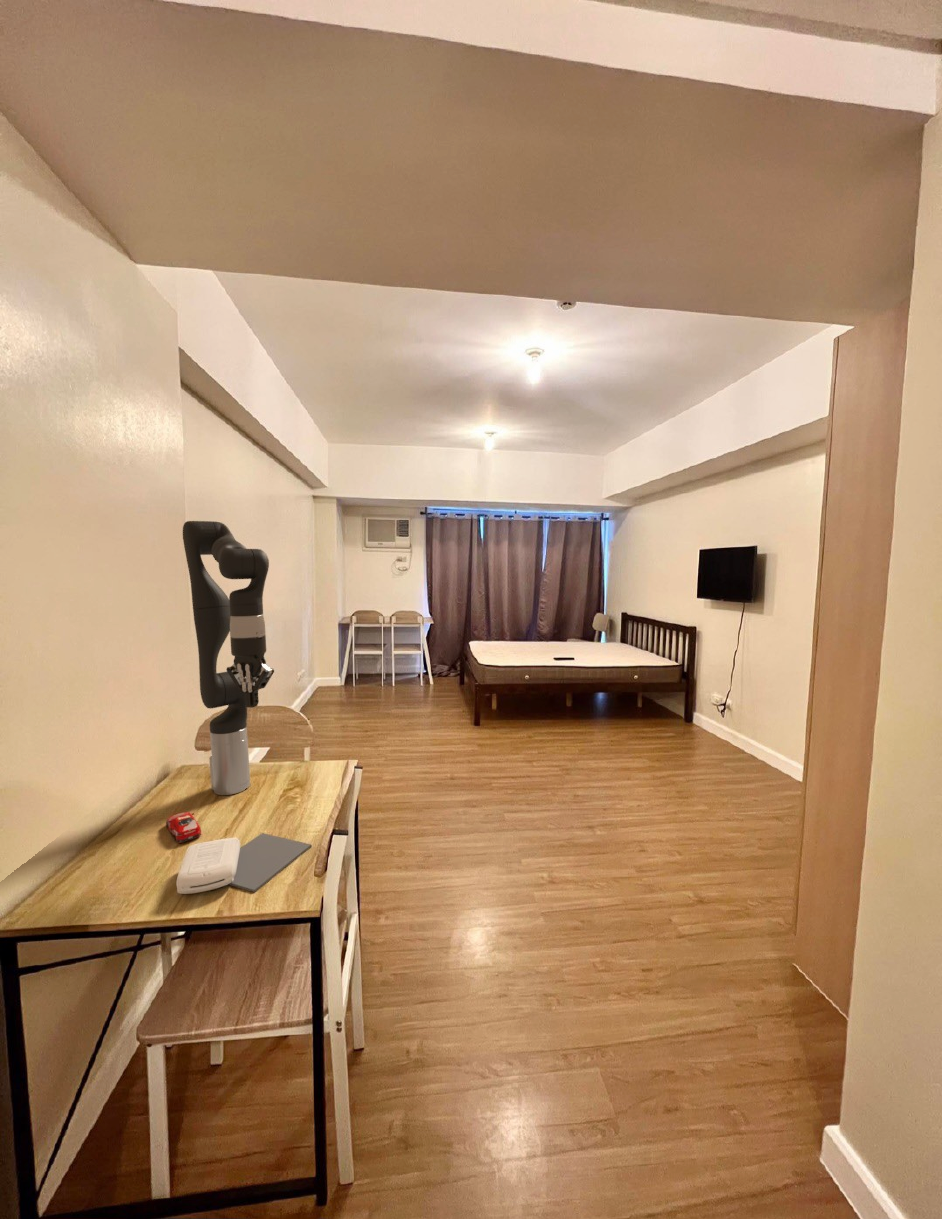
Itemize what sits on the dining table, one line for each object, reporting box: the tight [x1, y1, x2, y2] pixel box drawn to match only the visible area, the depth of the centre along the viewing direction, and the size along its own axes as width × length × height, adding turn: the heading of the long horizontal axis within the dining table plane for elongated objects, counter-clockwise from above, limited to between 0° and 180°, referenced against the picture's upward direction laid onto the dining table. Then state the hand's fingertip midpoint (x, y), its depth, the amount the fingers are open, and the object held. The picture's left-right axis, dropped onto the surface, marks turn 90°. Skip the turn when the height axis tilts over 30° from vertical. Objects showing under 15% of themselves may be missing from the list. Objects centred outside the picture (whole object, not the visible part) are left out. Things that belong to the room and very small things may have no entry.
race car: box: [165, 812, 202, 844], centre depth 113 cm, size 13×5×4 cm, turn 42°
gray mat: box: [227, 832, 312, 893], centre depth 101 cm, size 14×16×1 cm
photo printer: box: [175, 837, 242, 895], centre depth 95 cm, size 10×4×12 cm
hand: (252, 706), depth 114 cm, fingers closed
